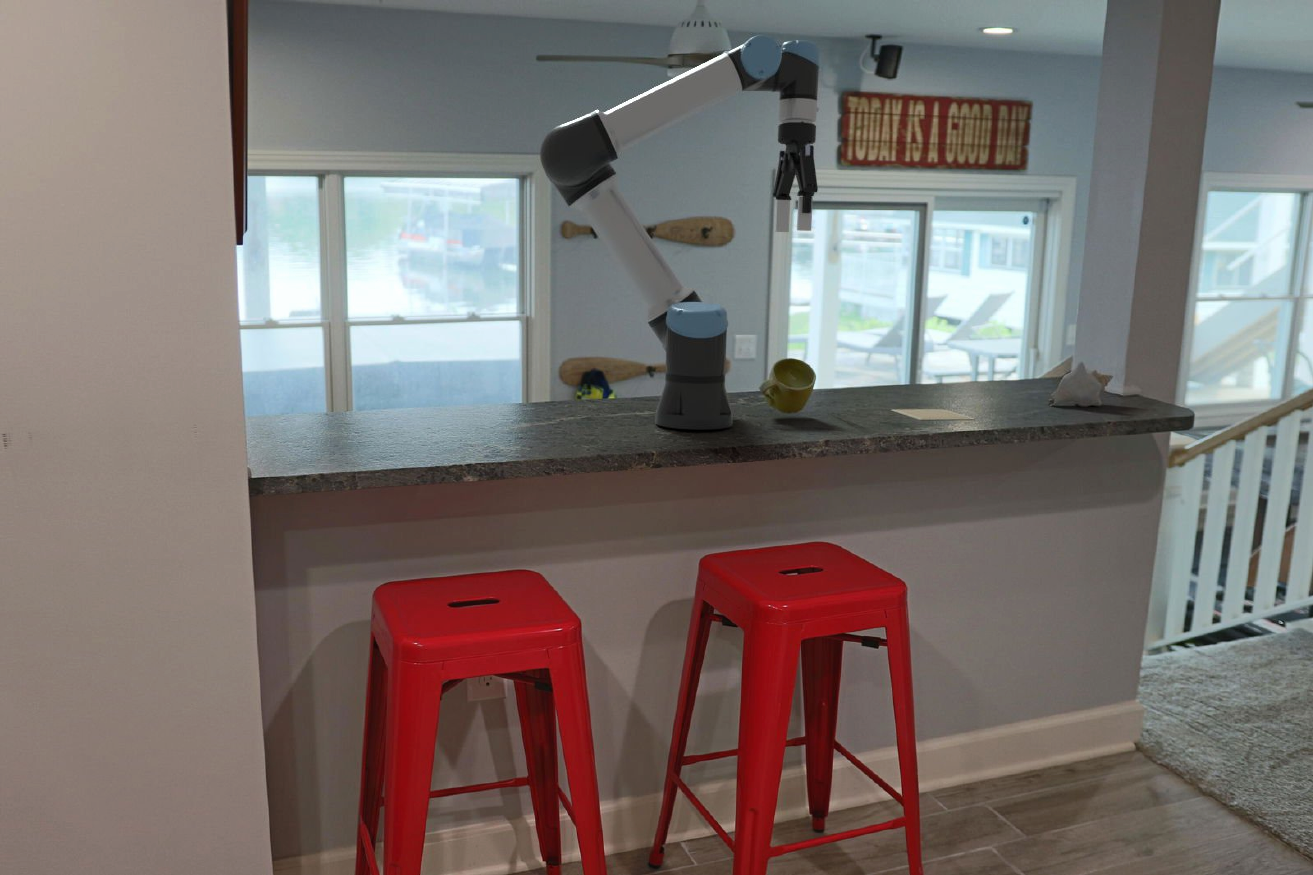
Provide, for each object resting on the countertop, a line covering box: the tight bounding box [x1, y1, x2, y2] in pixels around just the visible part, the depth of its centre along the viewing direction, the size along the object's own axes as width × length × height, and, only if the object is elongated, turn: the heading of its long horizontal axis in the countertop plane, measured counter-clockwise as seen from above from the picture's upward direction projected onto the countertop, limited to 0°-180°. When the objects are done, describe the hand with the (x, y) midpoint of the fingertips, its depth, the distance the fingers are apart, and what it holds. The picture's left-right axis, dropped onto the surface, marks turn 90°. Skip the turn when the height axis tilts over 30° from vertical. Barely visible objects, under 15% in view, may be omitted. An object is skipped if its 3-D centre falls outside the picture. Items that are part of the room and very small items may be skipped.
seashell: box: [1047, 360, 1114, 408], centre depth 246 cm, size 12×10×15 cm
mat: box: [890, 408, 976, 421], centre depth 229 cm, size 12×14×1 cm
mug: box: [758, 357, 817, 414], centre depth 224 cm, size 12×10×10 cm
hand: (792, 231), depth 224 cm, fingers open, 13 cm apart
